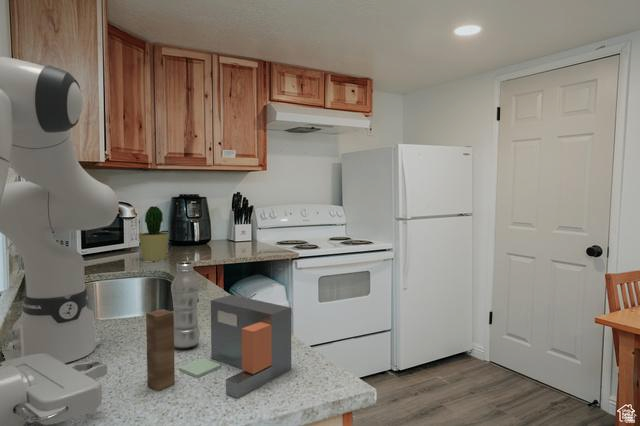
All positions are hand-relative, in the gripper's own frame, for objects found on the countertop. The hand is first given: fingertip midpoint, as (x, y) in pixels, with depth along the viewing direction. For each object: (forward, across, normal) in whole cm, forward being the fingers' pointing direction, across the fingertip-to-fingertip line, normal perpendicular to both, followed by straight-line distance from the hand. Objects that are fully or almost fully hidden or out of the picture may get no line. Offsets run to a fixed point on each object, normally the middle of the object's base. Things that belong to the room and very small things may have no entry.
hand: (101, 366), depth 69 cm
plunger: (+22, -14, +4) cm, 27 cm away
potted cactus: (+93, +132, +8) cm, 162 cm away
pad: (+20, 0, +7) cm, 21 cm away
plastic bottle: (+26, +13, +8) cm, 30 cm away
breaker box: (+24, -6, +7) cm, 25 cm away
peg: (+11, 0, +7) cm, 13 cm away
